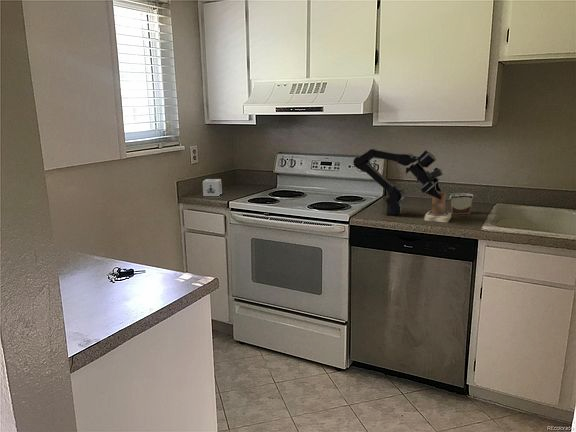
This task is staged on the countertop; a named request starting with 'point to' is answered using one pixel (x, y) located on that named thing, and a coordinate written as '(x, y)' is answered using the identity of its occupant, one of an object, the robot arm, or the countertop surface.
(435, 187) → the robot arm
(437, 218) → the base plate
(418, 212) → the countertop surface
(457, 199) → the food container
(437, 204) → the tan orange upright block
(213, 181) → the icon cube
